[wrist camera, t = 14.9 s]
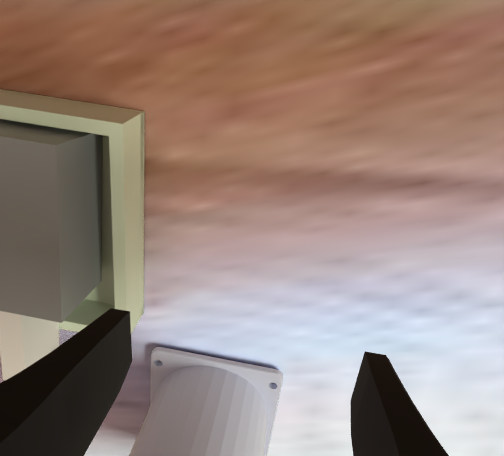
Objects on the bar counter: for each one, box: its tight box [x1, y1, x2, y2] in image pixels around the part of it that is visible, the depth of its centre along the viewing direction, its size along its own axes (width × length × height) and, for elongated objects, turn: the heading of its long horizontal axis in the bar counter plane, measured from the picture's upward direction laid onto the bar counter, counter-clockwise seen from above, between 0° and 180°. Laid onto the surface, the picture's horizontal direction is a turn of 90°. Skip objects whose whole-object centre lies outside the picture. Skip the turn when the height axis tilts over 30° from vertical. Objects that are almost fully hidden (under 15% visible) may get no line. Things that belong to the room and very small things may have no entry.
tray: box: [0, 89, 144, 333], centre depth 22 cm, size 12×9×2 cm
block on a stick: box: [0, 119, 103, 380], centre depth 21 cm, size 12×5×4 cm, turn 173°
